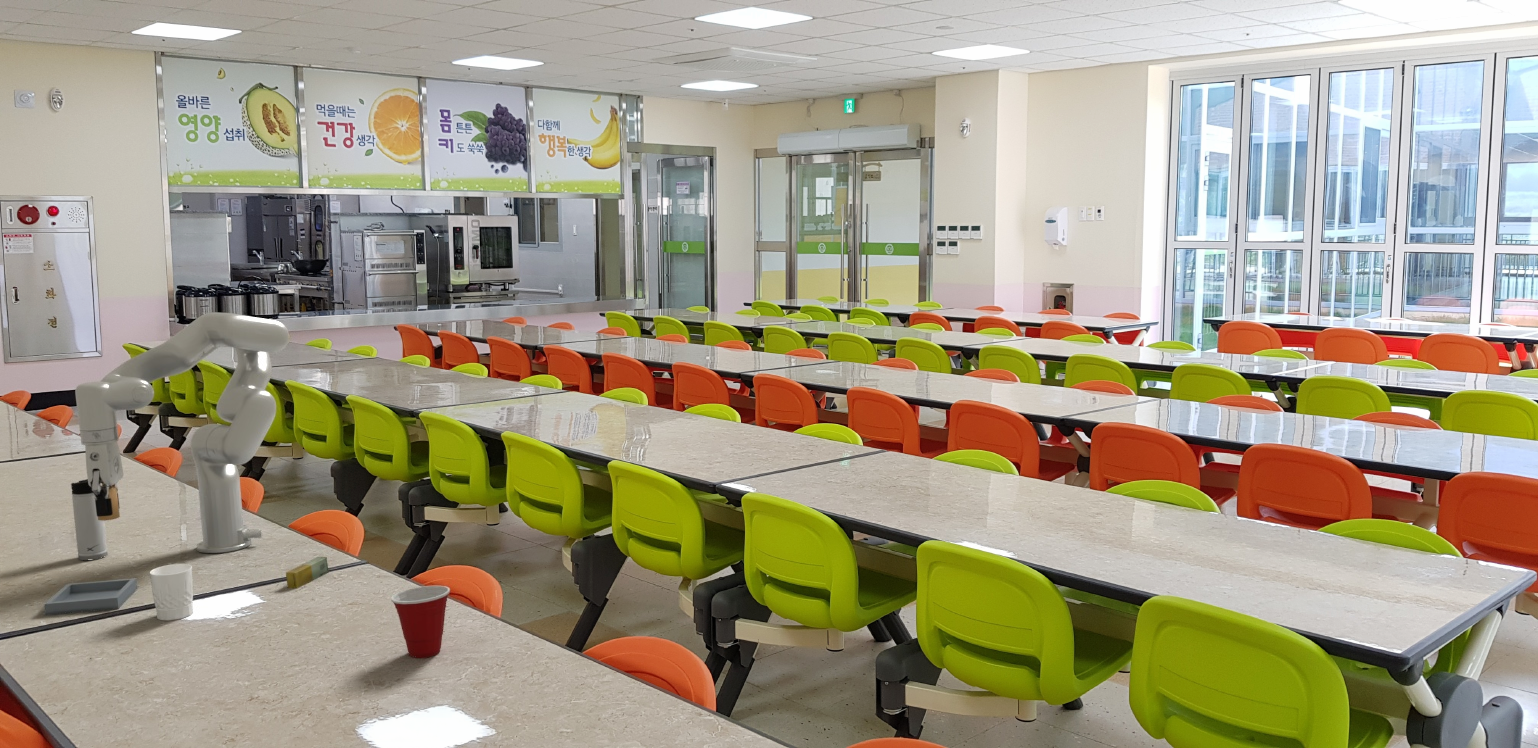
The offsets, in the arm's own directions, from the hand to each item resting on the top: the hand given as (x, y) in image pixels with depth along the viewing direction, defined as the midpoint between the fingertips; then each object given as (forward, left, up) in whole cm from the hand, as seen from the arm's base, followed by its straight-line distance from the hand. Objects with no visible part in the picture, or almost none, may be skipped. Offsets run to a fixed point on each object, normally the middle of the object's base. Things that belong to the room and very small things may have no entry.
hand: (108, 512), depth 265 cm
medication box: (-45, +16, -16) cm, 50 cm away
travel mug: (+10, -20, -16) cm, 27 cm away
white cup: (-21, +33, -16) cm, 42 cm away
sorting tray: (-1, +18, -16) cm, 24 cm away
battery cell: (0, 0, -1) cm, 1 cm away
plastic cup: (-73, +70, -16) cm, 102 cm away
